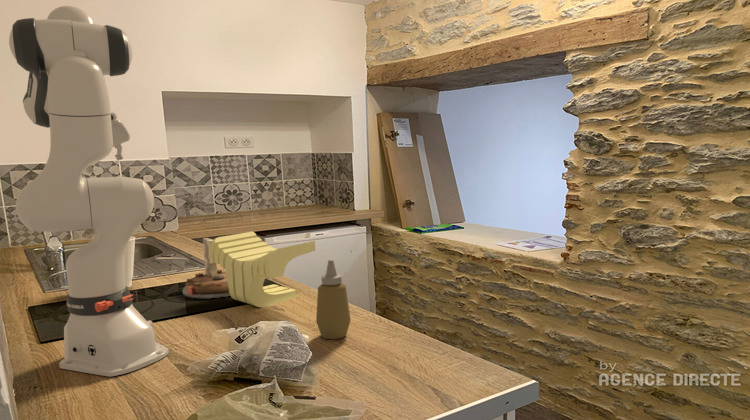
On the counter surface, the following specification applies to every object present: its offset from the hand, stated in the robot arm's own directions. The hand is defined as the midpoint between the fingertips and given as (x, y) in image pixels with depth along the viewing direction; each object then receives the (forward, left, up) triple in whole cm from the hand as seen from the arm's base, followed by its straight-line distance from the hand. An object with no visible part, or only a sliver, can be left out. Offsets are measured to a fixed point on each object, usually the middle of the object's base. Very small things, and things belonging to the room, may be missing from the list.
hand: (105, 165), depth 157 cm
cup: (+7, -5, -40) cm, 41 cm away
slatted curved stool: (-48, -16, -41) cm, 64 cm away
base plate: (-26, -18, -40) cm, 51 cm away
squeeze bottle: (-83, -2, -40) cm, 93 cm away
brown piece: (-26, -18, -39) cm, 50 cm away
